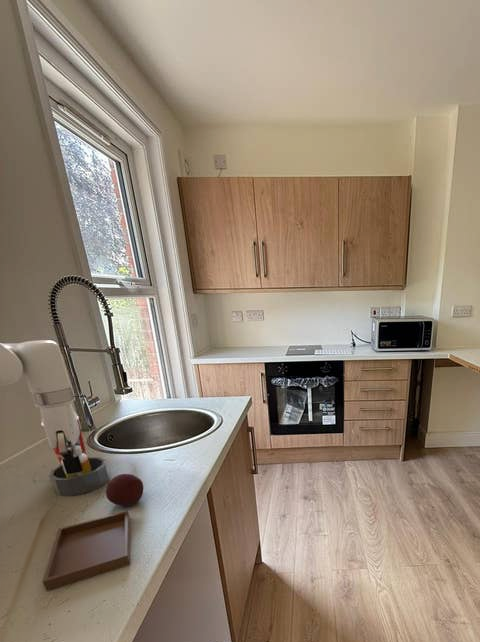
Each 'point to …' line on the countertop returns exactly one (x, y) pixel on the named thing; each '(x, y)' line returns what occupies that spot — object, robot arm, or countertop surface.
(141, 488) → the dark red plum
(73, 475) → the supplement bottle
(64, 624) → the countertop surface
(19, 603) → the countertop surface
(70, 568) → the tray
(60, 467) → the grey round bowl
